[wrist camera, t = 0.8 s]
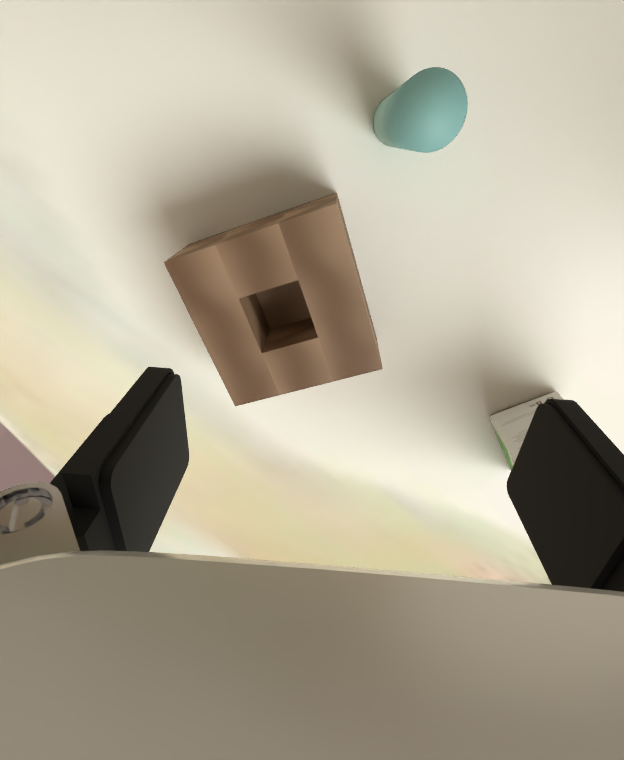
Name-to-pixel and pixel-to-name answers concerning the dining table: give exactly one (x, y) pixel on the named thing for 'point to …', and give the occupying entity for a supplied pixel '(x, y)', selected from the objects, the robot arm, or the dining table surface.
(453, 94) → the peg
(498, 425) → the skincare box
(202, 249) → the socket block
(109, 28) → the dining table surface
